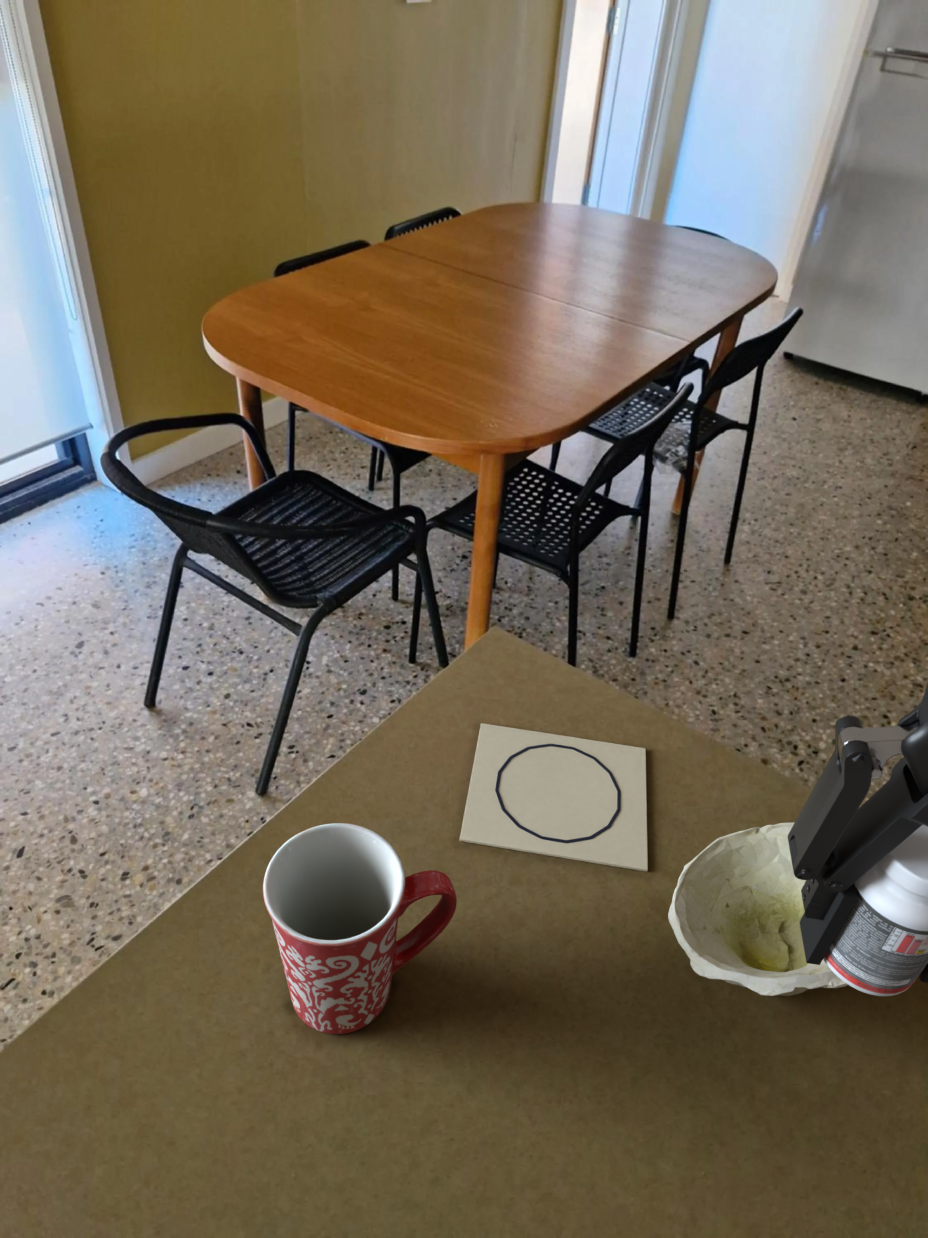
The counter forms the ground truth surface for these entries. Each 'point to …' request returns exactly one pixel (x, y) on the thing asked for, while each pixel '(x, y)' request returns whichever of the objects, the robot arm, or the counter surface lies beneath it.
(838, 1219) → the counter surface
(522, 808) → the beige flat square sheet
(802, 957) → the bowl
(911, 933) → the pill bottle
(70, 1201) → the counter surface
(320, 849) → the mug
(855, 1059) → the counter surface
